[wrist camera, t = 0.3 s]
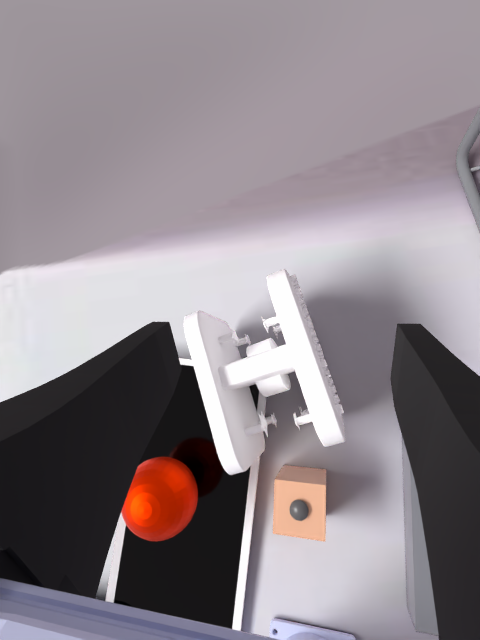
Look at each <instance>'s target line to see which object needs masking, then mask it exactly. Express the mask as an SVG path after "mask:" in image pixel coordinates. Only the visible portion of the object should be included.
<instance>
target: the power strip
mask: <svg viewBox="0 0 480 640" xmlns="http://www.w3.org/2000/svg"><path fill="white" fill-rule="evenodd" d="M402 459H403V492H404V525H405V558H406V592H407V608H408V611H409V614H410V617H411V620H412V622H413V625H414V628H415V631H416V632H421V633H426V634H431V635H436V636H439V635H438V627H437V619H436V611H435V604H434V597H433V590H432V583H431V575H430V568H429V562H428V555H427V549H426V542H425V536H424V529H423V523H422V517H421V511H420V505H419V499H418V494H417V489H416V485H415V480H414V476H413V472H412V469H411V465H410V462H409V458H408V455H407V451H406V447H405V444H404V440H403V437H402Z"/></svg>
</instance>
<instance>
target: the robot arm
mask: <svg viewBox="0 0 480 640" xmlns="http://www.w3.org/2000/svg"><path fill="white" fill-rule="evenodd" d="M181 370H182V369H181V365H180V361H179V357H178V353H177V350H176V346H175V342H174V338H173V334H172V331H171V327H170V323H169V322H152V323H150V324H148V325H146V326H144V327H142V328H141V329H139V330H137V331H136V332H134V333H132V334H131V335H129V336H128V337H126V338H124V339H123V340H121V341H120V342H118V343H117V344H115V345H113V346H112V347H110V348H109V349H107V350H105V351H104V352H102V353H101V354H99V355H97V356H95V357H94V358H92V359H90V360H89V361H87V362H85V363H83V364H82V365H80V366H78V367H77V368H75V369H73V370H71V371H69V372H67V373H65V374H64V375H62V376H60V377H58V378H56V379H54V380H51V381H49V382H47V383H45V384H43V385H41V386H39V387H37V388H34V389H32V390H29V391H27V392H25V393H22V394H20V395H17V396H15V397H13V398H10V399H8V400H5V401H3V402H0V640H356V639H355V637H354V636H353V635H352V634H348V633H343V632H338V631H334V630H329V629H324V628H320V627H315V626H310V625H305V624H301V623H296V622H291V621H286V620H282V619H277V618H273V619H272V620H271V623H270V637H266V636H261V635H257V634H252V633H248V632H243V631H239V630H234V629H229V628H225V627H220V626H216V625H211V624H207V623H202V622H198V621H193V620H189V619H184V618H179V617H175V616H170V615H166V614H161V613H157V612H152V611H148V610H143V609H139V608H134V607H129V606H125V605H120V604H116V603H111V602H107V601H102V600H98V599H95V597H96V593H97V590H98V586H99V582H100V579H101V575H102V572H103V568H104V565H105V561H106V557H107V554H108V551H109V548H110V545H111V541H112V538H113V535H114V532H115V529H116V526H117V522H118V519H119V516H120V514H121V511H122V508H123V505H124V502H125V499H126V497H127V494H128V491H129V488H130V486H131V483H132V480H133V478H134V475H135V473H136V470H137V467H138V465H139V462H140V460H141V458H142V456H143V453H144V451H145V449H146V447H147V445H148V443H149V441H150V439H151V437H152V435H153V434H154V432H155V430H156V428H157V426H158V424H159V422H160V420H161V418H162V416H163V414H164V412H165V410H166V408H167V406H168V404H169V402H170V400H171V398H172V396H173V394H174V391H175V388H176V385H177V382H178V379H179V376H180V373H181ZM391 385H392V393H393V400H394V407H395V411H396V415H397V418H398V422H399V426H400V429H401V433H402V437H403V440H404V444H405V447H406V451H407V455H408V458H409V462H410V465H411V469H412V472H413V476H414V480H415V485H416V489H417V494H418V499H419V505H420V511H421V517H422V523H423V529H424V536H425V542H426V549H427V555H428V562H429V568H430V575H431V583H432V590H433V597H434V604H435V611H436V619H437V627H438V635H439V640H480V376H478V375H477V374H476V373H475V372H474V371H472V370H471V369H470V368H469V367H467V366H466V365H465V364H464V363H463V362H462V361H460V360H459V359H458V358H457V357H456V356H455V355H454V354H452V353H451V352H450V351H449V350H448V349H447V348H446V347H445V346H444V345H442V344H441V343H440V342H439V341H438V340H437V339H436V338H435V337H434V336H433V335H432V334H431V333H430V332H429V331H428V330H426V329H425V328H424V327H423V326H422V325H421V324H397V331H396V339H395V347H394V355H393V363H392V371H391ZM273 629H276V630H277V633H275V632H274V631H273Z"/></svg>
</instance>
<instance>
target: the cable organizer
mask: <svg viewBox="0 0 480 640" xmlns="http://www.w3.org/2000/svg"><path fill="white" fill-rule="evenodd" d="M267 284H268V289H269V293H270V297H271V300H272V303H273V306H274V309H275V312H276V315H277V316H275V317H272V318H269V319H267V320H265V319H263V318H262V320H263V324H264V327H265V329H266V331H267V332H268V329H269V328H268V327H269V326H272V327H273V325H275V324H278V323H279V324H280V325H278V326H275V327H273V332H274V333H275V335H276V337H277V335H278V334H277V333H278V332H281V331H282V333H283V336H284V339H285V342H286V344H285V345H282V346H279V347H277V345H276V343H275V342H274V340H273V339H272V338H268V339H266V340H263V341H261V342H258V343H256V344H253V345H251V346H250V344H251V342H250V340H249V337H248V335H247V336H246V335H245V337H244V338H241V339H239V338H238V336H237V334H236V331H235V330H234V331H233V330H232V329H231V327H230V326H229V325H228V323H227V322H225V321H223V320H221V319H218V318H216V317H214V316H212V315H209V314H207V313H205V312H202V311H197V312H194V313H191V314H189V315H186V316H185V318H184V332H185V336H186V340H187V344H188V348H189V351H190V355H191V359H192V362H193V366H194V370H195V373H196V377H197V381H198V384H199V388H200V391H201V395H202V399H203V402H204V406H205V410H206V413H207V417H208V421H209V424H210V428H211V432H212V435H213V439H214V443H215V446H216V450H217V454H218V457H219V459H220V462H221V464H222V466H223V468H224V470H225V471H226V472H227V473H228V474H229V475H233V474H237V473H241V472H244V471H246V470H247V469H248V468H249V467H250V466H251V465H252V464H253V463H254V461H255V460H256V459H257V458H258V457H259V456H260V455H261V454H262V453H263V451H264V450H265V438H264V433H263V431H265V433H266V435H267V438H268V433H267V425H268V424H271V423H273V425H274V424H275V426H276V428H277V425H276V422H277V420H276V419H275V416H274V413H273V415H272V414H271V417H267V418H265V417H264V415H263V413H262V411H261V416H260V415H259V413H258V414H257V411H256V407H255V404H254V401H253V397H252V394H251V391H250V388H249V386H251V385H254V384H256V385H257V387H258V389H259V391H260V393H261V394H262V395H263V396H265V397H268V396H271V395H274V394H278V393H281V392H284V391H287V390H290V388H291V384H290V378H289V375H288V374H289V373H292V372H296V375H297V378H298V381H299V383H300V386H301V389H302V392H303V395H304V398H305V401H306V404H307V407H308V409H307V410H304V411H302V409H301V406H300V408H299V410H300V414H301V416H300V417H296V413H295V415H294V414H293V416H294V420H295V424H296V426H298V428H299V425H302V424H306V423H309V422H313V425H314V428H315V430H316V432H317V435H318V437H319V439H320V441H321V442H322V444H323V445H324V446H325V447H328V446H332V445H335V444H339V443H343V442H345V430H344V422H343V417H342V414H343V413H344V412H343V408H342V406H341V404H339V402H340V399H339V396H338V394H335V392H337V391H336V388H335V385H334V384H333V380H332V378H329V377H331V375H330V372H329V369H326V368H327V363H326V360H325V359H324V355H323V351H322V348H321V346H320V343H319V344H317V342H319V340H318V338H317V335H316V332H315V329H314V326H313V323H312V321H311V318H310V315H309V312H308V309H307V308H306V307H307V306H306V304H305V302H304V300H303V299H302V298H303V295H302V293H301V290H300V287H299V285H298V281H297V278H296V276H295V275H292V276H290V275H289V274H288V272H287V271H286V270H285V269H283V270H280V271H278V272H275V273H273V274H270V275H268V276H267ZM261 317H262V316H261ZM244 334H245V333H244ZM277 339H278V338H277ZM246 343H248V344H249V346H248V347H247V350H246V352H247V357H246V358H243V359H241V356H240V353H239V350H238V346H240V345H243V344H246ZM332 384H333V385H332ZM258 415H259V417H258ZM259 418H260V420H259ZM299 430H300V428H299Z"/></svg>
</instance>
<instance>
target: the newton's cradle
mask: <svg viewBox="0 0 480 640" xmlns="http://www.w3.org/2000/svg"><path fill="white" fill-rule="evenodd" d="M479 133H480V108H479V110H478V112H477V113H476V115H475V117H474V119H473V121H472V123H471V125H470V127H469V128H468V130H467V132H466V134H465V136H464V138H463V140H462V142H461V144H460V145H459V148H458V150H457V155H456V167H457V172H458V175H459V178H460V181H461V183H462V186H463V189H464V191H465V194H466V197H467V200H468V202H469V205H470V208H471V210H472V213H473V216H474V218H475V221H476V224H477V227H478V229H479V232H480V194H479V192H478V189H477V186H476V184H475V181H474V179H473V176H472V173H471V172H473V171H476V170H480V166H477V167H473V168H469V162H468V155H469V151H470V149H471V147H472V145H473V144H474V142H475V140H476V138H477V137H478V135H479Z"/></svg>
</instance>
